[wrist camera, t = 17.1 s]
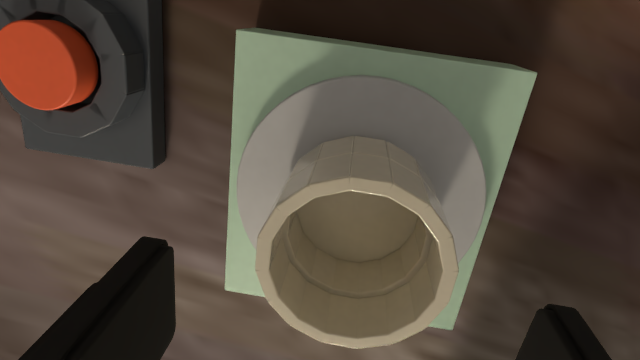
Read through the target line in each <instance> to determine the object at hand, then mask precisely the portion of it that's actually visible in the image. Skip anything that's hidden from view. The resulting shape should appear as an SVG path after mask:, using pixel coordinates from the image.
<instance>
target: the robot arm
mask: <svg viewBox="0 0 640 360" xmlns="http://www.w3.org/2000/svg"><path fill="white" fill-rule="evenodd" d="M175 327H176V319H175V283H174V251H173V248H172V247H170V246H168V243H167V241H166V240H163V239H157V238H151V237H142V238H140V239H139V240H138V241H137V242H136V243H135V244H134V245H133V246H132V247H131V248H130V249H129V250H128V252H127V253H126V254H125V255H124V256H123V257H122V258H121V259H120V260H119V261H118V262H117V263H116V264H115V265H114V266H113V267H112V268H111V269H110V270H109V271H108V272H107V273H106V274H105V275H104V276H103V277H102V278H101V280H100V281H99V282H97V283H94V284H93V285H91V286H90V287H89V288H88V289H87V290H86V291H85V292H84V293H83V294H82V295H81V296H80V297H79V298H78V299H77V300H76V301H75V302H74V303H73V304H72V305H71V306H70V307H69V308H68V309H67V310H66V311H65V312H64V313H63V314H62V315H61V317H60V318H59V319H58V320H57V321H56V322H55V323H54V324H53V325H52V326H51V327H50V328H49V329H48V330H47V331H46V332H45V333H44V334H43V335H42V336H41V337H40V338H39V339H38V340H37V341H36V342H35V343H34V344H33V345H32V346H31V347H30V348H29V349H28V350H27V351H26V352H25V353H24V354H23V355H22V356H21V357H20V358H19V359H18V360H160V359H161V357H162V356H163V354H164V352H165V350H166V349H167V347H168V345H169V343H170V342H171V340H172V338H173V335H174V332H175ZM515 360H612V359H611V358H610V357H609V355H608V354H607V352H606V351H605V349H604V348H603V347H602V345H601V344H600V342H599V341H598V339H597V338H596V337H595V335H594V334H593V332H592V331H591V329H590V328H589V327H588V325H587V324H586V322H585V321H584V319H583V318H582V316H581V315H580V314H579V312H578V311H577V310H576V309H574V308H572V307H566V306H560V305H554V304H547V305H546V306H545V307H544V309H539V310H538V311H537V312H536V314H535V317H534V319H533V321H532V323H531V325H530V328H529V330H528V332H527V334H526V337H525V339H524V341H523V343H522V346H521V348H520V350H519V352H518V355H517V357H516V359H515Z"/></svg>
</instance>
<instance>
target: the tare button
mask: <svg viewBox="0 0 640 360" xmlns="http://www.w3.org/2000/svg"><path fill="white" fill-rule="evenodd" d="M0 79H1V81H2V83H3V84H4V86H5V87H6V88H7V89H8V91H9V92H10V93H11V94H12V95H13V96H14V97H16V98H17V99H18V100H19V101H21V102H23V103H24V104H26V105H28V106H30V107H33V108H36V109H40V110H55V109H59V108H62V107H66V106H69V105H72V104H76V103H79V102H82V101H83V100H85V99H87V98H88V97H89V96H90V95H91V94H92V92H93V91H94V89H95V87H96V85H97V81H98V64H97V60H96V57H95V54H94V52H93V50H92V48H91V46H90V45H89V43H88V42H87V40H86V39H85V38H84V37H83V36H82V35H81V34H80V33H79V32H78V31H77V30H75V29H74V28H72V27H71V26H69V25H67V24H65V23H63V22H60V21H56V20H18V21H14V22H11V23H9V24H7V25H6V26H5V27H3V28H2V29H1V30H0Z"/></svg>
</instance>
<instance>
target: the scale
mask: <svg viewBox="0 0 640 360" xmlns="http://www.w3.org/2000/svg"><path fill="white" fill-rule="evenodd" d="M536 76H537V72H534V71H531V70H528V69H525V68H522V67H519V66H516V65H513V64H507V63H500V62H493V61H486V60H479V59H472V58H465V57H458V56H451V55H444V54H437V53H430V52H423V51H416V50H409V49H402V48H395V47H388V46H381V45H374V44H367V43H360V42H353V41H346V40H339V39H332V38H325V37H318V36H311V35H304V34H297V33H290V32H283V31H276V30H269V29H262V28H247V29H237V30H236V47H235V69H234V92H233V114H232V136H231V159H230V181H229V204H228V226H227V249H226V271H225V290H228V291H234V292H239V293H245V294H250V295H256V296H262V297H265V295H264V292H263V290H262V287H261V284H260V282H259V279H258V276H257V274H256V271H255V261H256V248H257V237H258V234H259V232H260V230H261V228H262V226H263V224H264V222H265V220H266V218H267V216H268V214H269V212H270V210H271V208H272V206H273V204H274V202H275V200H276V198H277V196H278V194H279V192H280V190H281V188H282V186H283V184H284V183H285V181H286V179H287V178H288V176H289V174H290V173H291V171H292V169H293V167H294V166H295V164H296V162H297V161H298V160H299V159H300V158H302V157H303V156H304V155H306V154H307V153H309V152H310V151H311V150H313V149H314V148H316V147H317V146H318V145H320V144H321V143H324V142H328V141H332V140H336V139H341V138H345V137H350V136H360V137H366V138H373V139H379V140H385V141H386V142H390V143H391V144H393V145H395V146H396V147H398V148H400V149H401V150H403V151H405V152H406V153H408V154H410V155H411V156H413V158H415V159H416V160H417V162H418V163H419V164H420V166H421V167H422V169H423V170H424V171H425V173H426V174H427V176H428V177H429V178H430V180H431V182H432V184H433V187H434V189H435V192H436V194H437V197H438V199H439V202H440V204H441V207H442V209H443V212H444V214H445V217H446V220H447V222H448V225H449V227H450V230H451V232H452V235H453V238H454V244H455V250H456V255H457V261H458V267H459V270H458V271H459V273H458V276H457V279H456V282H455V285H454V288H453V292H452V295H451V298H450V301H449V303H448V305H447V306H446V307H445V308H444V309H443V310H442V311H441V312H440V314H439V315H438V316H437V317H436V318H435V319H434V320H433V321H432V322H431V323H430V324H429V325H428V326H430V327H436V328H442V329H447V330H453V327H454V324H455V321H456V318H457V315H458V312H459V309H460V306H461V303H462V300H463V297H464V294H465V291H466V288H467V285H468V282H469V279H470V276H471V273H472V270H473V267H474V264H475V260H476V257H477V254H478V251H479V248H480V245H481V242H482V239H483V236H484V233H485V230H486V227H487V224H488V221H489V218H490V215H491V212H492V209H493V206H494V203H495V200H496V197H497V194H498V191H499V188H500V185H501V182H502V179H503V176H504V173H505V170H506V167H507V164H508V161H509V158H510V155H511V152H512V149H513V146H514V143H515V140H516V137H517V134H518V131H519V128H520V124H521V121H522V118H523V115H524V112H525V109H526V106H527V103H528V100H529V97H530V94H531V91H532V88H533V85H534V82H535V79H536Z"/></svg>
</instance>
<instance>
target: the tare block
mask: <svg viewBox="0 0 640 360" xmlns="http://www.w3.org/2000/svg"><path fill="white" fill-rule="evenodd" d="M18 20H56V21H60V22H63V23H65V24H67V25H69V26H71V27H72V28H74V29H75V30H77V31H78V32H79V33H80V34H81V35H82V36H83V37H84V38H85V39H86V40H87V42H88V43H89V45H90V46H91V48H92V50H93V52H94V54H95V57H96V60H97V64H98V81H97V85H96V87H95V89H94V91H93V92H92V94H91V95H90V96H89V97H88V98H87V99H85V100H83V101H82V102H79V103H76V104H72V105H69V106H66V107H62V108H59V109H55V110H40V109H36V108H33V107H30V106H28V105H26V104H24V103H23V102H21V101H19V100H18V99H17V98H16V97H14V96H13V95H12V94H11V93H10V92H9V91H8V89H7V88H6V87H5V86H4V84H3V83H2V81H1V79H0V90H1V92H2V93H3V95H4V96H5V98H6V99H7V101H8V102H9V104H10V105H11V107H12V108H13V109H14V110H15V111H16V112H18V113H19V114H20V116H21V122H22V128H23V134H24V140H25V147H26V148H27V149H33V150H39V151H46V152H52V153H58V154H64V155H70V156H76V157H82V158H88V159H94V160H101V161H107V162H113V163H119V164H125V165H131V166H137V167H143V168H149V169H154V168H156V167H157V166H158V165H160V164H161V163H163V162H164V161H165V124H164V79H163V35H162V0H0V30H1V29H2V28H3V27H5V26H6V25H7V24H9V23H11V22H14V21H18Z"/></svg>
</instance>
